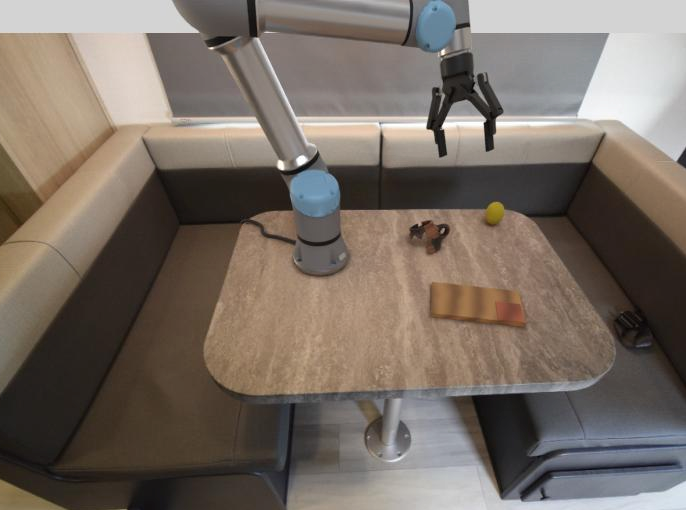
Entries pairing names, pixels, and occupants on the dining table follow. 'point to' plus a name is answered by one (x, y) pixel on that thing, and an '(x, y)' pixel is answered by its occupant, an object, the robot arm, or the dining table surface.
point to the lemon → (494, 213)
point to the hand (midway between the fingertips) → (465, 153)
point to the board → (477, 304)
